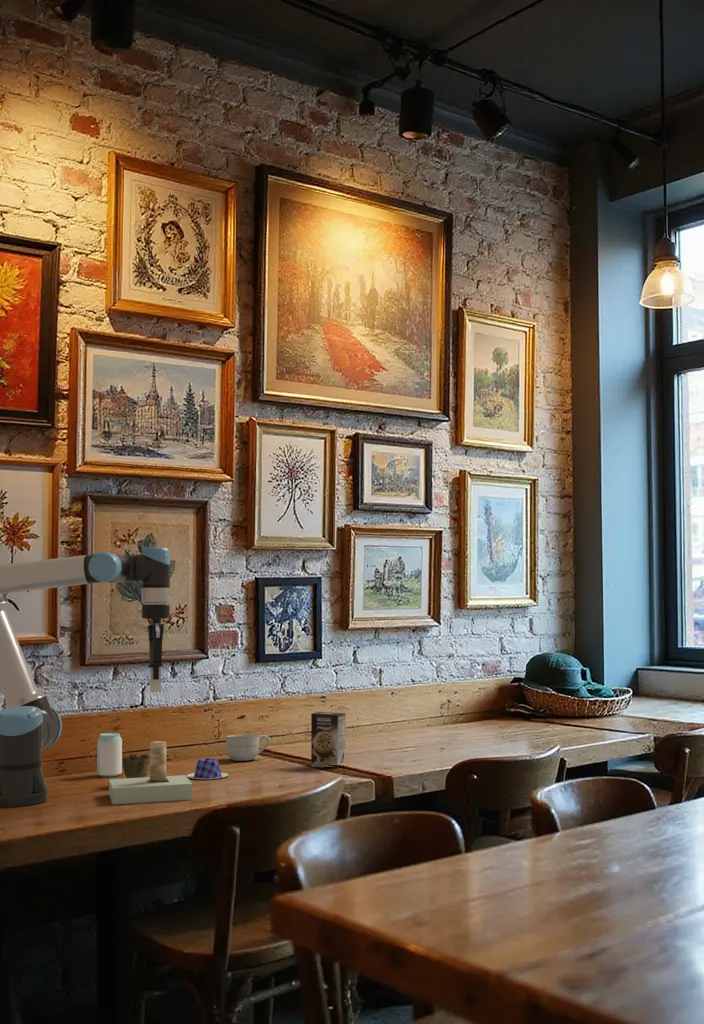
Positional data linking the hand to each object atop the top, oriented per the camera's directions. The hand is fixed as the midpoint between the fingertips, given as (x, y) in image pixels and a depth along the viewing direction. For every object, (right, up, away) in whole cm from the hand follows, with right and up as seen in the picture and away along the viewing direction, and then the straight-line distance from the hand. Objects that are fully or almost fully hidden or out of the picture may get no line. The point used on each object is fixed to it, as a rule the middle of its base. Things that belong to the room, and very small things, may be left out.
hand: (155, 691), depth 286 cm
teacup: (+20, -31, +52) cm, 64 cm away
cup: (-7, -27, +8) cm, 29 cm away
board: (+1, -26, -10) cm, 28 cm away
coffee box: (+46, -29, +38) cm, 66 cm away
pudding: (+11, -29, +21) cm, 37 cm away
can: (-18, -29, +25) cm, 42 cm away
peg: (+3, -26, -10) cm, 28 cm away
